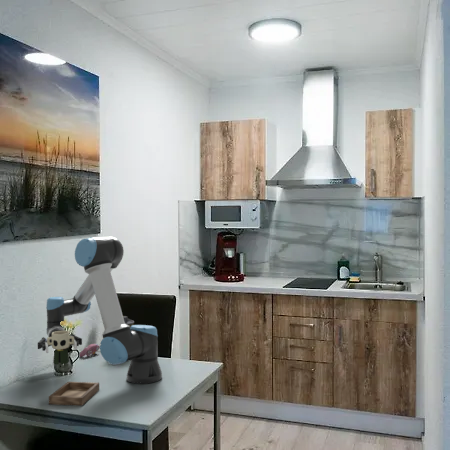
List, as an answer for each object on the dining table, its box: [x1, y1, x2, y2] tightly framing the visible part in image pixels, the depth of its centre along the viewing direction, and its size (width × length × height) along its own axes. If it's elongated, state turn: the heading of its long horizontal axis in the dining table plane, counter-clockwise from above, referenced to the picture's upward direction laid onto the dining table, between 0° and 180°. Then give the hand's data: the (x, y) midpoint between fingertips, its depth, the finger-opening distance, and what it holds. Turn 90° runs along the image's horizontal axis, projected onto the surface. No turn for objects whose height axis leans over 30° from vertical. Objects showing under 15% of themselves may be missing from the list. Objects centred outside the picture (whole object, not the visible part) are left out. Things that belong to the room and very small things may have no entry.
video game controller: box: [79, 343, 100, 358], centre depth 269 cm, size 10×5×7 cm, turn 149°
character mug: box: [46, 330, 74, 365], centre depth 218 cm, size 11×7×13 cm, turn 95°
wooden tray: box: [48, 381, 100, 407], centre depth 209 cm, size 13×17×3 cm
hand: (61, 348), depth 215 cm, fingers closed on character mug, 10 cm apart
